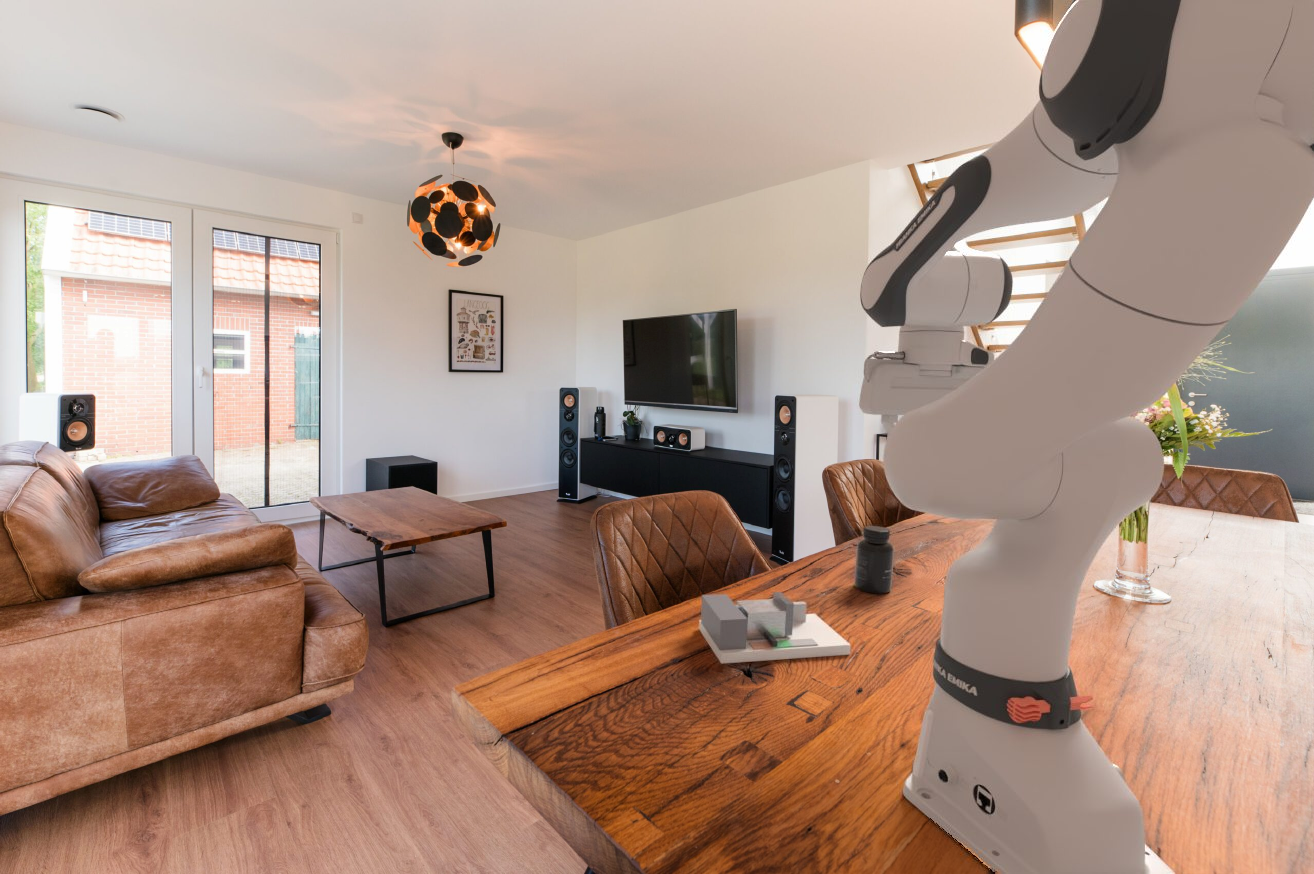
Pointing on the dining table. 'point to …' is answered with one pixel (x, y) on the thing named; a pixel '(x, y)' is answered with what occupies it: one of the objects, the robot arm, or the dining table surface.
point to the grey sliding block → (768, 617)
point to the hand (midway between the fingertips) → (922, 445)
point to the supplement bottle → (874, 561)
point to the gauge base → (731, 645)
